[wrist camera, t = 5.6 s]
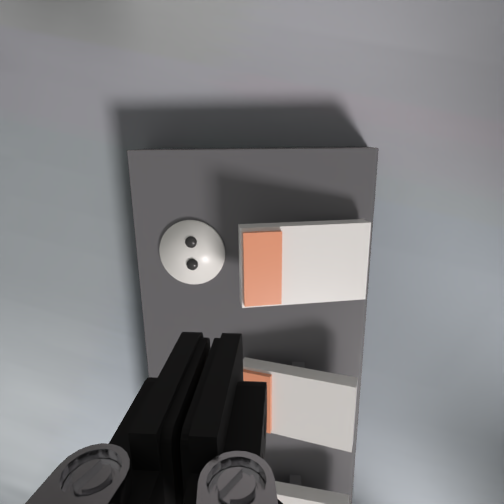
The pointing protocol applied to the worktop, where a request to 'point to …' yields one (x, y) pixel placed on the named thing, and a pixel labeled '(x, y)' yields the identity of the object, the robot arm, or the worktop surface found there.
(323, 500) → the outlet rocker
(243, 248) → the rocker outlet
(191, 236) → the power strip
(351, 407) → the outlet rocker
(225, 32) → the worktop surface
